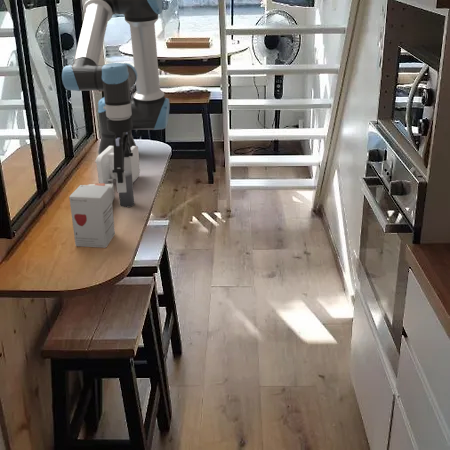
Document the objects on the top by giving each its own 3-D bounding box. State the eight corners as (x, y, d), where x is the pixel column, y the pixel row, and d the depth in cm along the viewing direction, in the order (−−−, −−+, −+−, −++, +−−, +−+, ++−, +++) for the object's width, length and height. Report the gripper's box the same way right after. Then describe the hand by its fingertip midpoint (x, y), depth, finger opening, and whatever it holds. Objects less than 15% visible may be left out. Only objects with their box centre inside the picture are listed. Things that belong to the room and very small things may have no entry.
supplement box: (74, 246, 167) (67, 196, 160) (85, 232, 175) (79, 184, 168) (106, 248, 165) (100, 197, 159) (116, 234, 173) (111, 185, 167)
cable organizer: (127, 191, 203) (124, 158, 198) (97, 189, 205) (93, 157, 200) (141, 175, 216) (138, 144, 211) (112, 174, 218) (109, 143, 213)
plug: (131, 200, 196) (128, 169, 191) (136, 205, 192) (134, 173, 188) (117, 203, 194) (114, 172, 189) (123, 208, 190) (119, 176, 186)
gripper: (112, 107, 192) (118, 171, 201) (99, 128, 170) (106, 199, 178) (136, 107, 192) (141, 170, 201) (125, 128, 170) (132, 198, 178)
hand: (125, 184), depth 190 cm, fingers open, 13 cm apart
